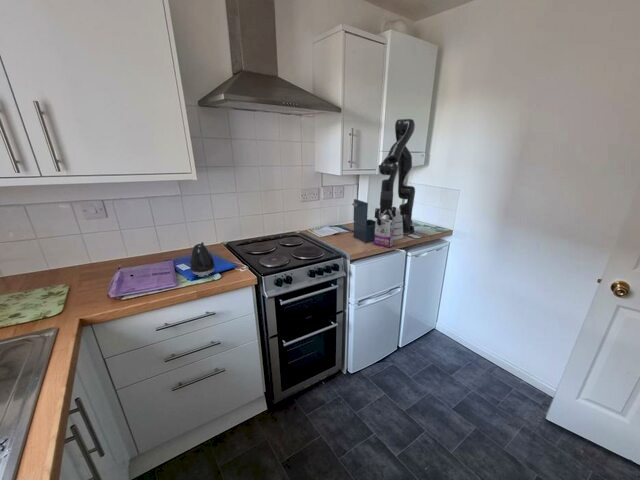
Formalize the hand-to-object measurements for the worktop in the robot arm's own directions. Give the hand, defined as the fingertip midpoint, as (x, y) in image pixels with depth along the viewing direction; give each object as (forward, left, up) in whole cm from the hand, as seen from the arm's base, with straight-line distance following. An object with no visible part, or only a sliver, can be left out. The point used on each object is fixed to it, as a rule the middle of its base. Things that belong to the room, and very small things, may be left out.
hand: (384, 224), depth 183 cm
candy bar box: (0, 0, -14) cm, 14 cm away
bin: (+1, -16, -13) cm, 21 cm away
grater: (-16, -11, -14) cm, 24 cm away
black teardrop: (+103, -2, -14) cm, 104 cm away
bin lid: (+7, -16, +5) cm, 18 cm away
